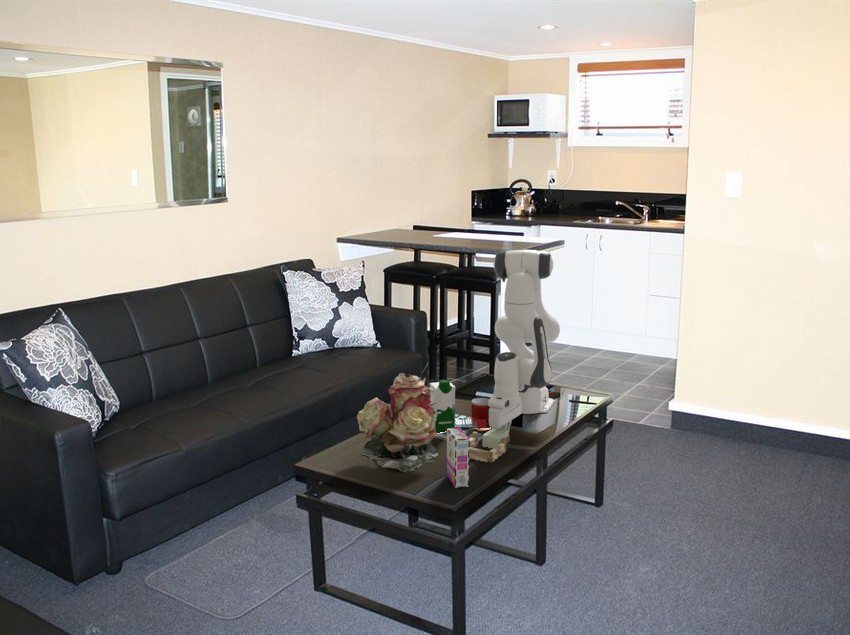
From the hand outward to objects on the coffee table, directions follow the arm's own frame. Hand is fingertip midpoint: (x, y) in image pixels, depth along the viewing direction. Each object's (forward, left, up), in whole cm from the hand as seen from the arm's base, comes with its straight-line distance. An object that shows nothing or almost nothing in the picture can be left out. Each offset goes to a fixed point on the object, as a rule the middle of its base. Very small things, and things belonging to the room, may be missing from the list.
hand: (505, 432), depth 301 cm
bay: (+19, 0, -2) cm, 19 cm away
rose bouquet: (+35, -22, -2) cm, 42 cm away
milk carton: (+5, -24, -2) cm, 25 cm away
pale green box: (+8, 0, -2) cm, 9 cm away
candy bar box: (+43, +4, -2) cm, 43 cm away
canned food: (-4, -12, -2) cm, 13 cm away
